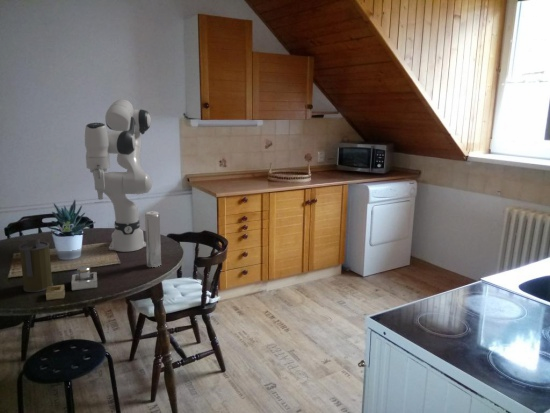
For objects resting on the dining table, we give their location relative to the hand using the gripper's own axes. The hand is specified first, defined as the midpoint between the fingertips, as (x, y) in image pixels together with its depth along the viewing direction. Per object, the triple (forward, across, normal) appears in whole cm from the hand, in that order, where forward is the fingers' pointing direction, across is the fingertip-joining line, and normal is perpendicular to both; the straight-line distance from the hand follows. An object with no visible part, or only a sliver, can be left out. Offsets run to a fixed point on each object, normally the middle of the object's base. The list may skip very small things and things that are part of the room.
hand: (100, 196), depth 176 cm
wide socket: (+34, -9, +8) cm, 36 cm away
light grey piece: (+34, +4, -21) cm, 40 cm away
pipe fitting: (+34, -9, +8) cm, 36 cm away
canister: (+34, -6, +25) cm, 43 cm away
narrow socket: (+34, -17, +18) cm, 42 cm away
